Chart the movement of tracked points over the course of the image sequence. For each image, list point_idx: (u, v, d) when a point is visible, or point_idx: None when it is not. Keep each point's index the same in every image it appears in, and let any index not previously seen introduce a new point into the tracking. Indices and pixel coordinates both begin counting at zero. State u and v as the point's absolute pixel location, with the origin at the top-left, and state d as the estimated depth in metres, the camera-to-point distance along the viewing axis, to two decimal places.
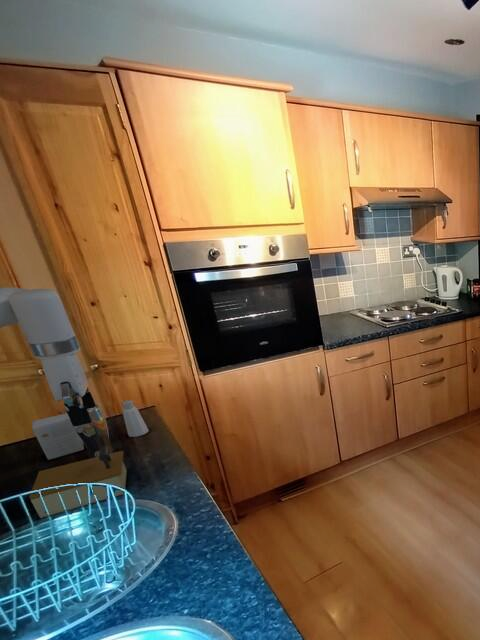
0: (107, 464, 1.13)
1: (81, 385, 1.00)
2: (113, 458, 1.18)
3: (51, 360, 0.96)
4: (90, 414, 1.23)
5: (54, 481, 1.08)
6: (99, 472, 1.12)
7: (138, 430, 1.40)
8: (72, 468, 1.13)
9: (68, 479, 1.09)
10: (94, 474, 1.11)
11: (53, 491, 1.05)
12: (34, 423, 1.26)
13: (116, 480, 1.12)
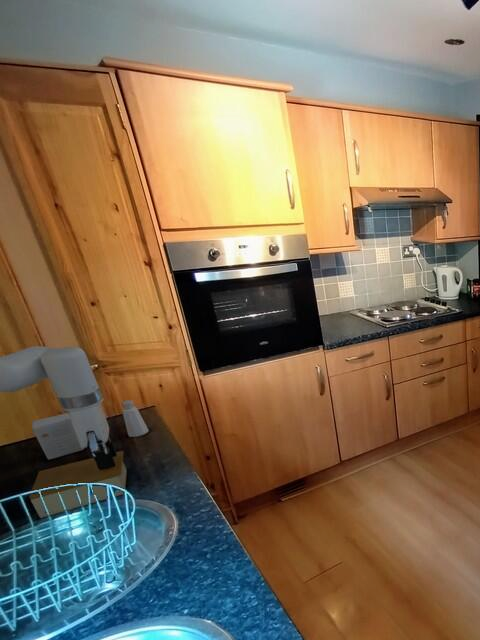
0: None
1: (104, 433, 1.10)
2: (113, 458, 1.18)
3: (78, 412, 1.05)
4: None
5: (54, 481, 1.08)
6: (99, 472, 1.12)
7: (138, 430, 1.40)
8: (72, 468, 1.13)
9: (68, 479, 1.09)
10: (94, 474, 1.11)
11: (53, 491, 1.05)
12: (34, 423, 1.26)
13: (116, 480, 1.12)
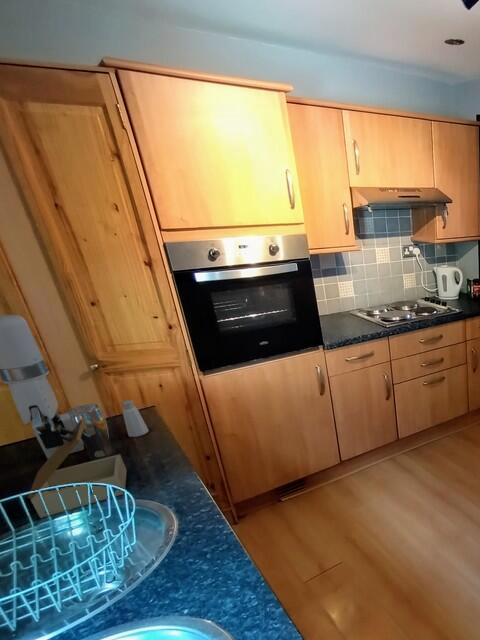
0: (65, 438, 1.07)
1: (50, 408, 1.02)
2: (75, 429, 1.11)
3: (18, 385, 0.97)
4: (90, 414, 1.23)
5: (42, 474, 1.07)
6: (65, 448, 1.07)
7: (138, 430, 1.40)
8: (53, 456, 1.10)
9: (49, 467, 1.06)
10: (62, 452, 1.06)
11: (41, 483, 1.04)
12: None
13: (116, 480, 1.12)
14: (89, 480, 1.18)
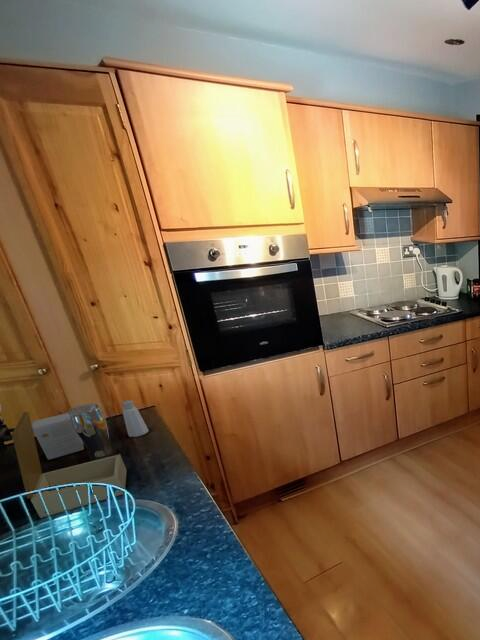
0: (10, 437, 1.01)
1: None
2: None
3: None
4: (90, 414, 1.23)
5: None
6: None
7: (138, 430, 1.40)
8: None
9: None
10: None
11: (25, 483, 1.02)
12: (34, 423, 1.26)
13: (116, 480, 1.12)
14: (89, 480, 1.18)
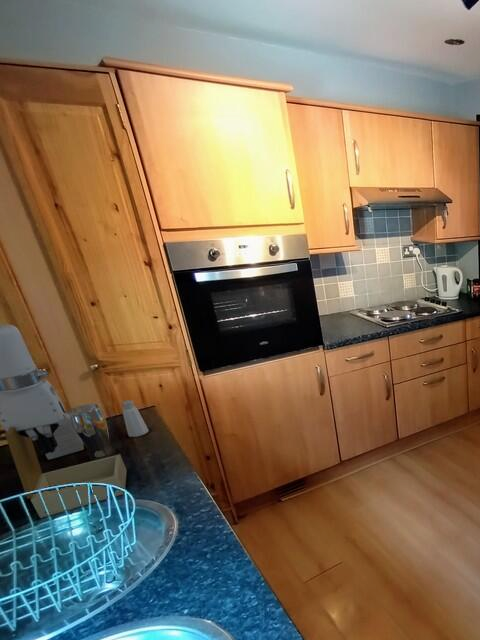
0: (5, 438, 1.00)
1: (7, 422, 1.00)
2: None
3: None
4: (90, 414, 1.23)
5: None
6: None
7: (138, 430, 1.40)
8: None
9: None
10: None
11: (23, 483, 1.02)
12: None
13: (116, 480, 1.12)
14: (89, 480, 1.18)
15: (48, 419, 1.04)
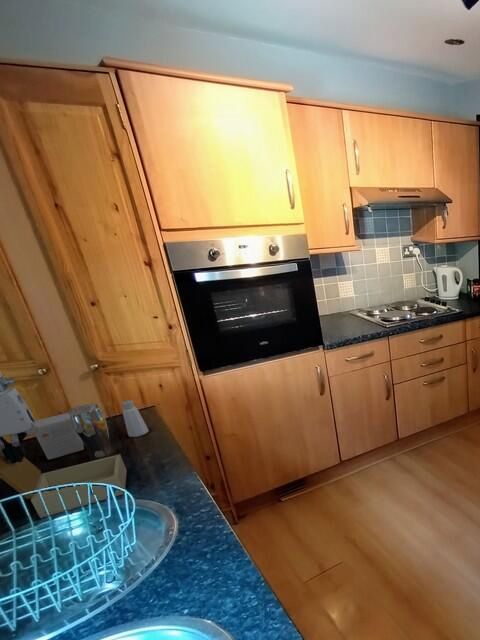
0: None
1: None
2: None
3: None
4: (90, 414, 1.23)
5: None
6: None
7: (138, 430, 1.40)
8: None
9: None
10: None
11: (14, 486, 1.01)
12: None
13: (116, 480, 1.12)
14: (89, 480, 1.18)
15: (15, 428, 1.01)
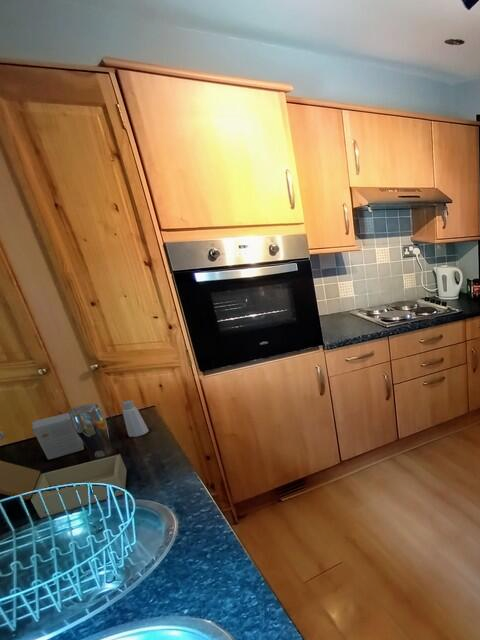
0: None
1: None
2: None
3: None
4: (90, 414, 1.23)
5: None
6: None
7: (138, 430, 1.40)
8: None
9: None
10: None
11: (5, 493, 1.01)
12: (34, 423, 1.26)
13: (116, 480, 1.12)
14: (89, 480, 1.18)
15: None
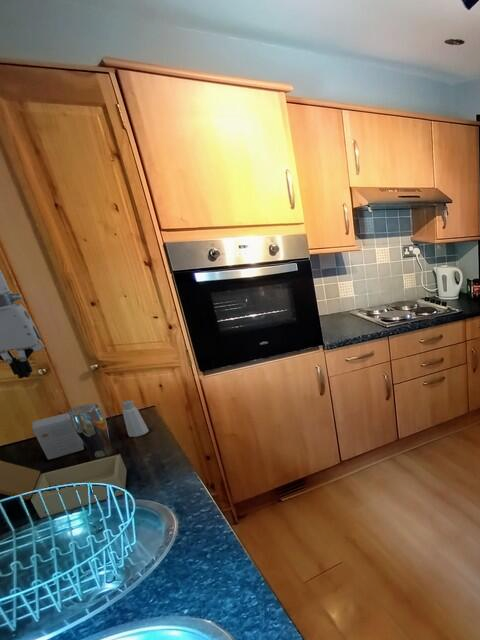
0: None
1: None
2: None
3: None
4: (90, 414, 1.23)
5: None
6: None
7: (138, 430, 1.40)
8: None
9: None
10: None
11: (5, 493, 1.01)
12: (34, 423, 1.26)
13: (116, 480, 1.12)
14: (89, 480, 1.18)
15: (22, 342, 1.06)
